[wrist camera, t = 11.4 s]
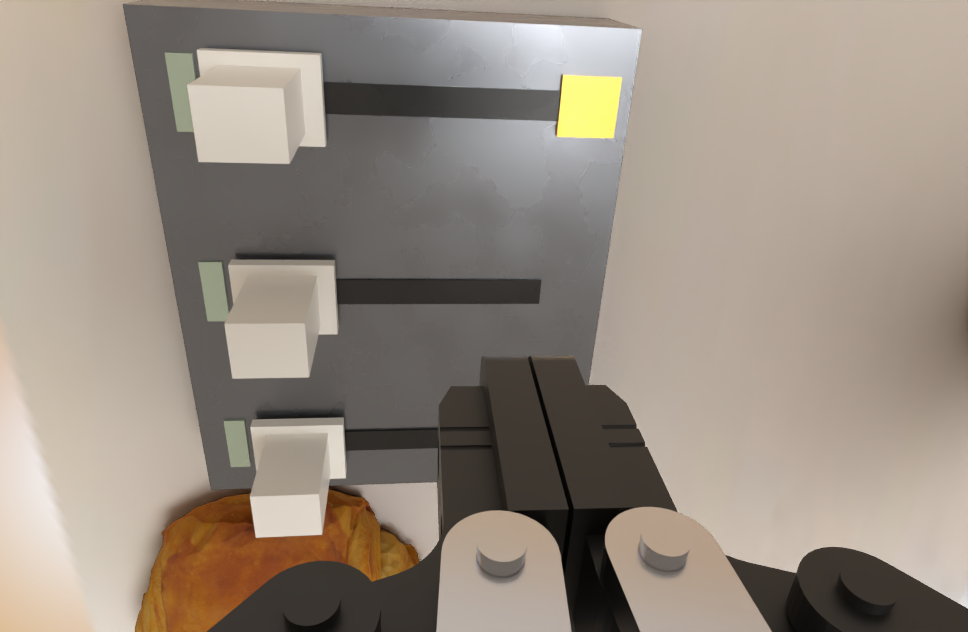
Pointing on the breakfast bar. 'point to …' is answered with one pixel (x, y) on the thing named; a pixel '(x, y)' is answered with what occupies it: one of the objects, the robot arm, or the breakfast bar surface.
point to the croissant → (254, 559)
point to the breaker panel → (393, 209)
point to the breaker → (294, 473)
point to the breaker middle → (279, 315)
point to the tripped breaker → (257, 105)
